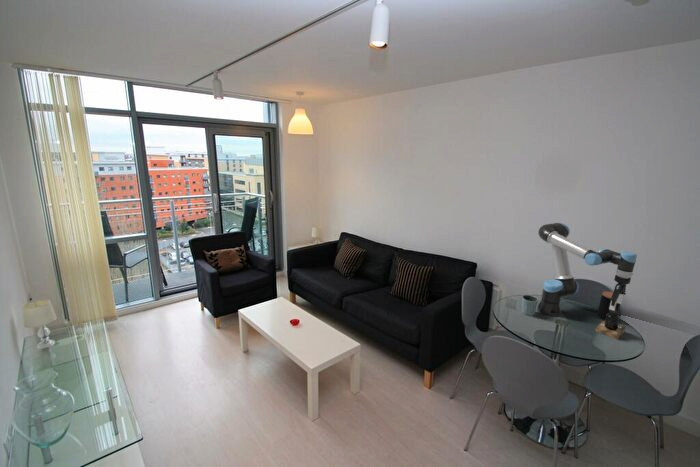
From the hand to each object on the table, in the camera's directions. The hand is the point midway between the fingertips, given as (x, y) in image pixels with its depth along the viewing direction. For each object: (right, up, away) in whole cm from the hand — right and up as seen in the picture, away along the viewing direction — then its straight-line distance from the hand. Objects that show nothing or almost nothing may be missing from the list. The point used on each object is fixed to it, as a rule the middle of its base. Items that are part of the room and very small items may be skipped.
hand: (615, 306), depth 206 cm
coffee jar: (+11, -13, +21) cm, 27 cm away
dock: (0, -18, +5) cm, 18 cm away
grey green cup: (-40, -11, +29) cm, 51 cm away
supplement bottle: (0, -15, +4) cm, 15 cm away
